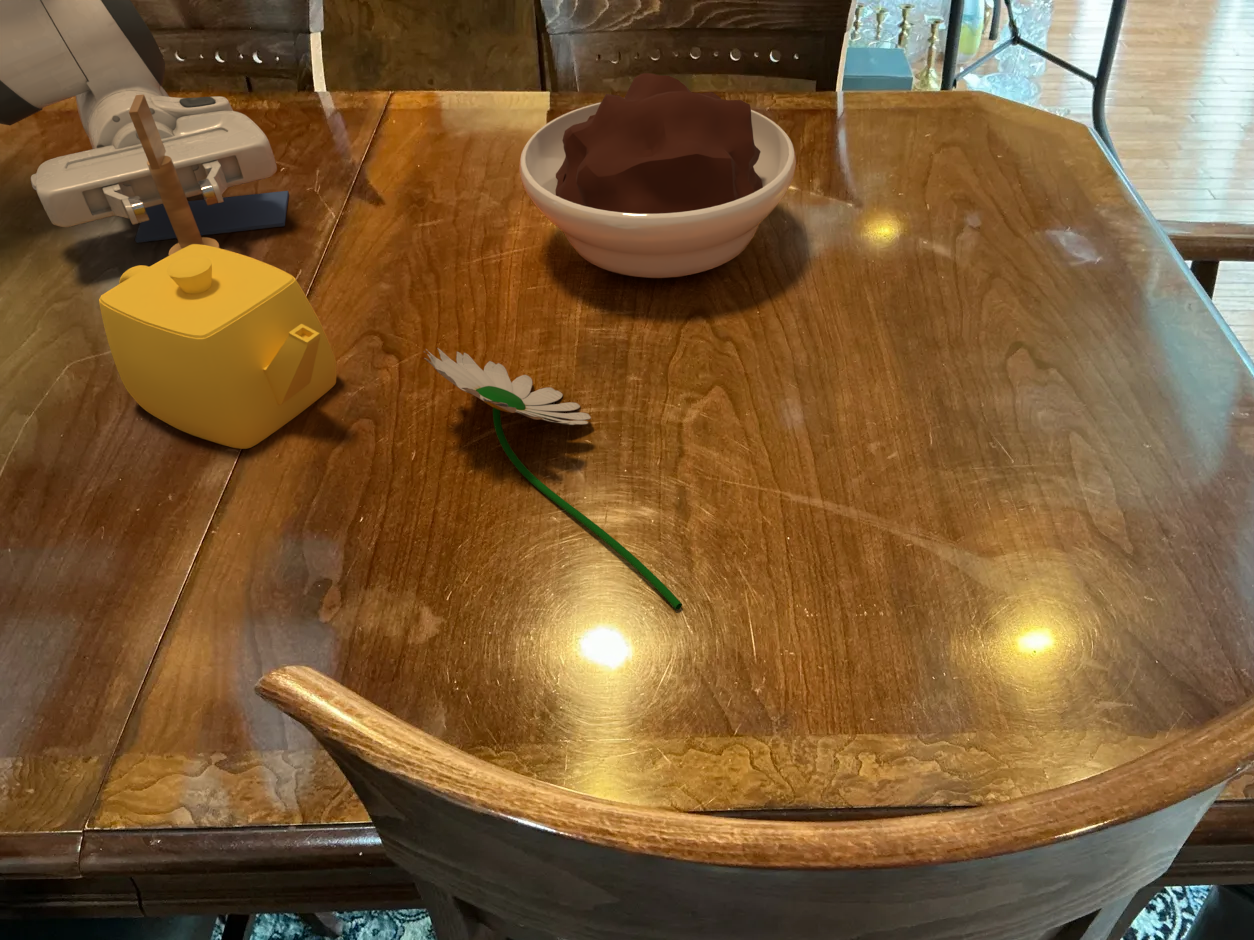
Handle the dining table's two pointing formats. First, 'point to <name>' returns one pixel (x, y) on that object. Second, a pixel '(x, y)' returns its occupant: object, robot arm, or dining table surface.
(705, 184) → the bowl of brown chunks
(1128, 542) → the dining table surface
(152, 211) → the blue-grey rectangular slab
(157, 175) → the wooden peg
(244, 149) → the robot arm
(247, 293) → the teapot
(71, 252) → the dining table surface
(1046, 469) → the dining table surface
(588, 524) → the flower
